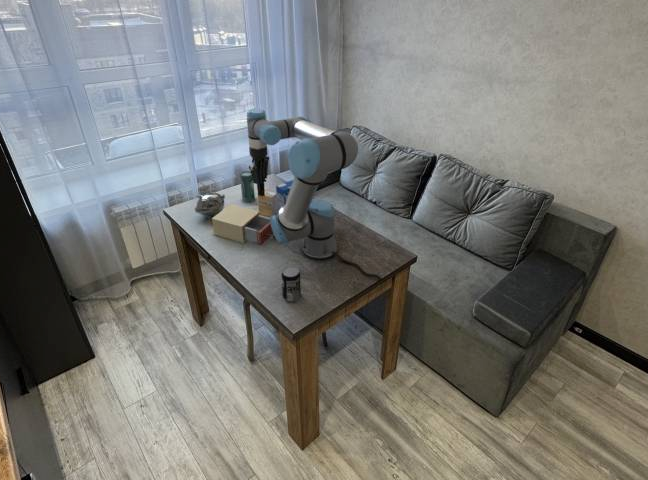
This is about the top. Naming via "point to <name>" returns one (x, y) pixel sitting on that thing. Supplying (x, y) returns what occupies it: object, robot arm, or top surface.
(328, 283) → the top surface
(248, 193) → the can
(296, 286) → the beverage can
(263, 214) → the supplement box
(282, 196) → the milk carton
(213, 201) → the piggy bank
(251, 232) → the drawer
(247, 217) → the beige cardboard box
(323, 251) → the robot arm
